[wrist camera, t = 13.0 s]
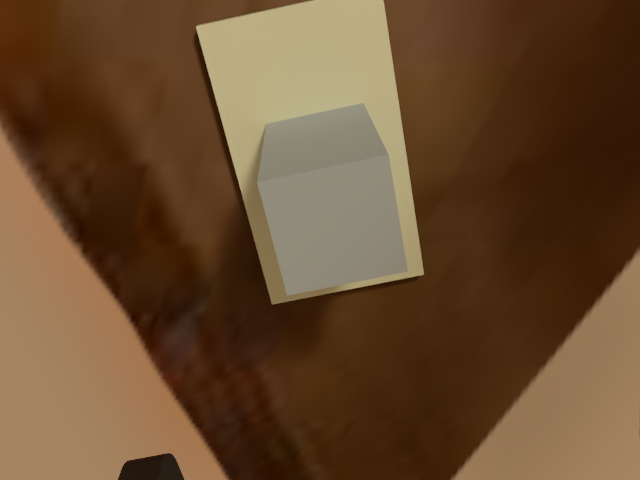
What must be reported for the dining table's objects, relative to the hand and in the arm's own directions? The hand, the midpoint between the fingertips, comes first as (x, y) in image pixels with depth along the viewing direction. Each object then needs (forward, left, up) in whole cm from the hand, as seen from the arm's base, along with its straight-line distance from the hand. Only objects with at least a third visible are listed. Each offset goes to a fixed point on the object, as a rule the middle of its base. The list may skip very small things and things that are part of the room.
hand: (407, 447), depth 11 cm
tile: (+1, +1, -20) cm, 20 cm away
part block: (+1, +1, -20) cm, 20 cm away
